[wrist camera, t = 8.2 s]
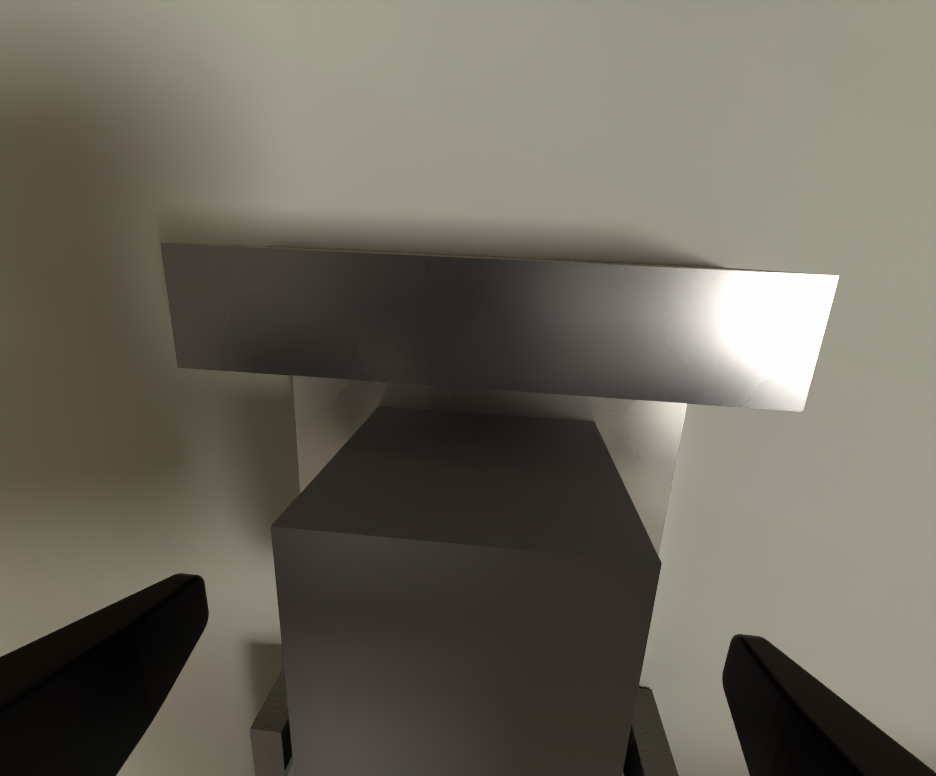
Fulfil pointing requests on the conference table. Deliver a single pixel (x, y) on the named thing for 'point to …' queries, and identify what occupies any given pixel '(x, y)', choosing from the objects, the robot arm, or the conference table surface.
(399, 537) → the block
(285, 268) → the press frame
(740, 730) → the robot arm
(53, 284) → the conference table surface
